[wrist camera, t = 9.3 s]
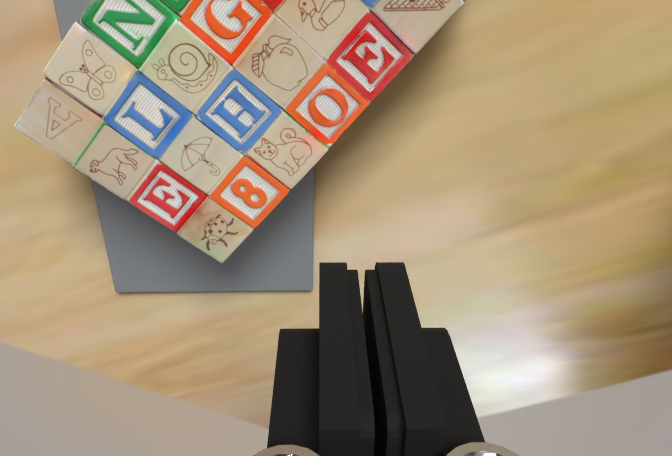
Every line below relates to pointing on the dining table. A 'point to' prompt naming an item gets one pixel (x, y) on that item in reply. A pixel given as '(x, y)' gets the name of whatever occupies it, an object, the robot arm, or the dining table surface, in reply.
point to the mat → (187, 260)
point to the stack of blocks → (218, 99)
